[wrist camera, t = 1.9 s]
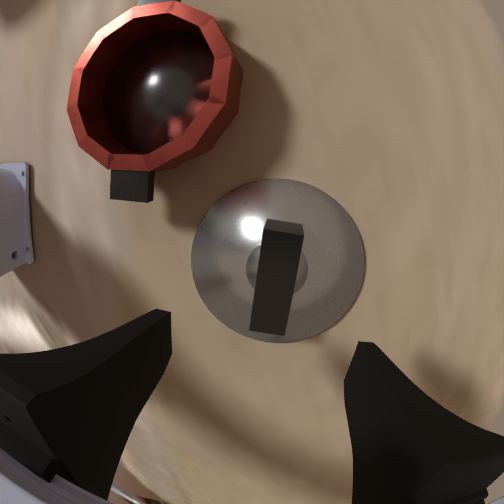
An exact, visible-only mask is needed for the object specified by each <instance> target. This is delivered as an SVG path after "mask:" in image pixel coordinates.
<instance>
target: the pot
mask: <svg viewBox="0 0 504 504" xmlns="http://www.w3.org/2000/svg"><path fill="white" fill-rule="evenodd" d="M180 2H181V0H138V4H137V7H133V8H131V9H130V10H128V11H127V12H125V13H124V14H122V15H121V16H119V17H118V18H116V19H115V20H113V21H112V22H110V23H109V24H108V25H106V26H105V27H103V28H102V29H101V30H99V31H98V32H97V33H96V34H95V36H94V37H93V39H92V40H91V42H90V43H89V45H88V46H87V48H86V49H85V51H84V53H83V54H82V56H81V57H80V59H79V61H78V62H77V64H76V66H75V67H74V69H73V74H72V79H71V85H70V91H69V98H68V105H67V112H68V115H69V118H70V122H71V125H72V128H73V131H74V134H75V137H76V140H77V143H78V145H79V147H80V148H82V149H83V150H84V151H85V152H87V153H88V154H89V155H90V156H92V157H93V158H94V159H95V160H97V161H98V162H99V163H100V164H102V165H103V166H104V167H105V168H107V169H108V170H109V169H111V183H110V199H115V200H126V201H135V202H145V203H148V202H151V201H153V193H154V176H155V171H157V170H164V169H172V168H174V167H176V166H178V165H180V164H182V163H184V162H186V161H188V160H190V159H192V158H194V157H196V156H198V155H200V154H202V153H204V152H206V151H208V150H211V148H212V147H213V146H214V144H215V143H216V141H217V140H218V139H219V137H220V136H221V134H222V133H223V132H224V130H225V129H226V128H227V126H228V125H229V124H230V122H231V121H232V120H233V118H234V117H235V116H236V114H237V113H238V105H239V97H240V90H241V82H242V75H243V70H242V68H241V66H240V64H239V63H238V61H237V59H236V57H235V55H234V53H233V51H232V49H231V47H230V45H229V43H228V41H227V39H226V37H225V35H224V34H223V32H222V30H221V29H220V27H219V26H218V24H217V22H216V21H215V19H214V17H213V16H211V15H208V14H206V13H204V12H202V11H199V10H197V9H195V8H192V7H190V6H188V5H185V4H183V3H180Z"/></svg>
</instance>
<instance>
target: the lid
mask: <svg viewBox="0 0 504 504" xmlns="http://www.w3.org/2000/svg"><path fill="white" fill-rule="evenodd" d="M191 267H192V274H193V279H194V282H195V286H196V288H197V290H198V293H199V295H200V297H201V298H202V300H203V302H204V303H205V305H206V306H207V308H208V309H209V310H210V311H211V313H212V314H213V315H214V316H215V317H216V318H217V319H218V320H219V321H221V322H222V323H223V324H225V325H226V326H227V327H229V328H230V329H232V330H234V331H235V332H237V333H239V334H242V335H244V336H246V337H249V338H252V339H255V340H260V341H265V342H275V343H277V342H292V341H298V340H302V339H306V338H309V337H311V336H314V335H316V334H318V333H320V332H322V331H324V330H326V329H327V328H329V327H330V326H332V325H333V324H334V323H335V322H337V321H338V320H339V319H340V318H341V317H342V316H343V315H344V314H345V312H346V311H347V310H348V309H349V307H350V306H351V304H352V303H353V302H354V300H355V298H356V296H357V294H358V292H359V289H360V286H361V283H362V279H363V273H364V249H363V245H362V241H361V237H360V235H359V232H358V230H357V227H356V226H355V224H354V222H353V220H352V218H351V217H350V216H349V214H348V213H347V212H346V210H345V209H344V208H343V207H342V206H341V205H340V204H339V203H338V202H337V201H336V200H335V199H333V198H332V197H331V196H329V195H328V194H327V193H325V192H323V191H322V190H320V189H318V188H316V187H314V186H312V185H309V184H306V183H303V182H300V181H295V180H290V179H279V178H278V179H264V180H259V181H254V182H251V183H248V184H245V185H242V186H240V187H238V188H236V189H234V190H232V191H230V192H229V193H228V194H226V195H225V196H223V197H222V198H221V199H219V200H218V201H217V202H216V203H215V204H214V205H213V206H212V207H211V208H210V210H209V211H208V212H207V213H206V214H205V216H204V218H203V219H202V221H201V223H200V224H199V227H198V229H197V231H196V234H195V237H194V241H193V245H192V252H191Z"/></svg>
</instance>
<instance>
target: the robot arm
mask: <svg viewBox="0 0 504 504" xmlns="http://www.w3.org/2000/svg"><path fill="white" fill-rule="evenodd" d="M24 173H25V174H24ZM33 262H34V254H33V246H32V236H31V225H30V209H29V165H28V163H27V162H20V163H4V164H0V277H1V276H2V275H4V274H6V273H8V272H10V271H12V270H13V269H15V268H17V267H19V266H21V265H23V264H25V263H28V264H32V263H33ZM171 355H172V341H171V312H168V311H164V310H159V309H155V310H152V311H150V312H148V313H146V314H144V315H142V316H140V317H138V318H136V319H134V320H132V321H130V322H128V323H126V324H124V325H122V326H120V327H118V328H116V329H114V330H111V331H109V332H107V333H104V334H102V335H100V336H98V337H95V338H92V339H90V340H87V341H84V342H81V343H77V344H74V345H71V346H67V347H62V348H58V349H53V350H48V351H41V352H34V353H22V354H0V504H113V503H111V502H109V501H107V500H108V496H109V492H110V489H111V485H112V482H113V479H114V475H115V472H116V469H117V467H118V464H119V461H120V458H121V455H122V453H123V450H124V447H125V445H126V442H127V440H128V437H129V435H130V433H131V430H132V428H133V426H134V424H135V421H136V419H137V418H138V416H139V414H140V412H141V410H142V409H143V407H144V405H145V404H146V402H147V400H148V399H149V397H150V396H151V394H152V392H153V391H154V389H155V387H156V386H157V384H158V382H159V381H160V379H161V377H162V375H163V374H164V372H165V369H166V367H167V365H168V362H169V360H170V357H171ZM344 400H345V408H346V414H347V420H348V426H349V432H350V438H351V445H352V453H353V493H352V504H485V502H484V499H485V498H486V497H487V496H488V491H487V487H488V486H489V485H490V484H491V483H493V482H494V481H495V480H496V479H497V478H498V477H499V476H500V475H501V474H502V473H503V472H504V436H501V435H499V434H496V433H493V432H490V431H487V430H484V429H482V428H480V427H478V426H475V425H473V424H471V423H469V422H467V421H465V420H463V419H462V418H460V417H458V416H456V415H455V414H453V413H452V412H450V411H448V410H447V409H445V408H444V407H442V406H441V405H439V404H438V403H437V402H435V401H434V400H433V399H432V398H430V397H429V396H428V395H426V394H425V393H424V392H423V391H422V390H421V389H419V388H418V387H417V386H416V385H415V384H414V383H413V382H412V381H411V380H410V379H409V378H408V377H407V376H406V375H405V374H404V373H403V372H402V371H401V370H400V369H399V368H398V367H397V366H396V365H395V364H394V363H393V362H392V361H391V360H390V359H389V358H388V357H387V356H386V355H385V354H384V353H383V352H382V350H381V349H380V348H379V347H378V346H377V345H375V344H374V343H372V342H361V341H359V342H358V345H357V347H356V350H355V353H354V356H353V358H352V361H351V364H350V366H349V369H348V372H347V374H346V377H345V379H344ZM489 504H504V496H503V497H500V498H498V499H496V500H494V501H492V502H490V503H489Z"/></svg>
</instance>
